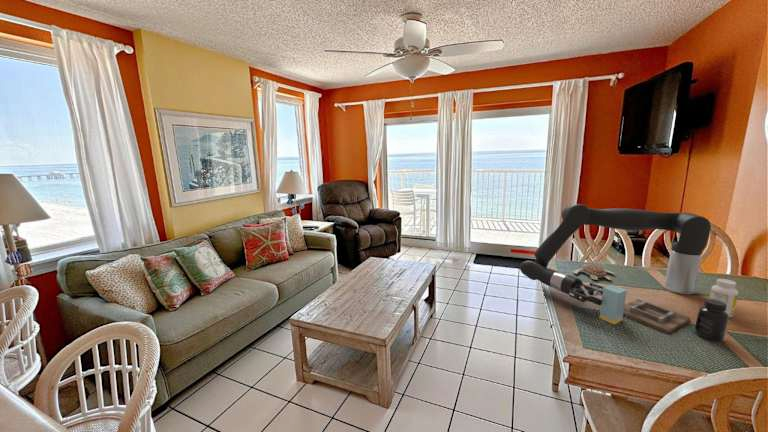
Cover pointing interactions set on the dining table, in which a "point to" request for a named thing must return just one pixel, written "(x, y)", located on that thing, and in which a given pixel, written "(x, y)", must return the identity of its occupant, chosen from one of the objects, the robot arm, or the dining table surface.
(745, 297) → the dining table surface
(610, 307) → the peg
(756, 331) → the dining table surface
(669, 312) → the socket board
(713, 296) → the supplement bottle
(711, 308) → the supplement bottle
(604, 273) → the decorative turtle
